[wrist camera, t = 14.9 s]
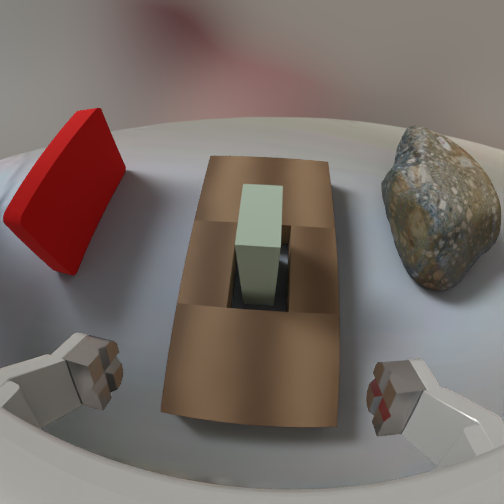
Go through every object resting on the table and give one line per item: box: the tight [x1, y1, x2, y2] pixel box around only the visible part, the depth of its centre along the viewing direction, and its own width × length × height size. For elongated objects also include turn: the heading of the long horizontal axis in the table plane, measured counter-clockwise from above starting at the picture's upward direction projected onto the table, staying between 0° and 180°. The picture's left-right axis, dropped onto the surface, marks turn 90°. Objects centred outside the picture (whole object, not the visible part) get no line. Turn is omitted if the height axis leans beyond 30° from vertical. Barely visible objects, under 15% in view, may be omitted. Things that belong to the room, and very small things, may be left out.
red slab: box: [3, 108, 126, 275], centre depth 25 cm, size 15×3×10 cm, turn 170°
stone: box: [381, 126, 501, 291], centre depth 25 cm, size 14×19×8 cm
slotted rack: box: [161, 156, 340, 427], centre depth 24 cm, size 12×24×3 cm, turn 175°
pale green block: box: [235, 184, 283, 306], centre depth 21 cm, size 2×4×10 cm, turn 175°
